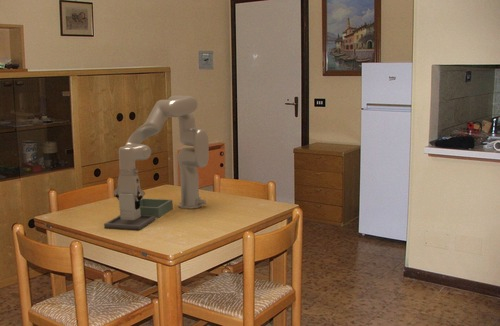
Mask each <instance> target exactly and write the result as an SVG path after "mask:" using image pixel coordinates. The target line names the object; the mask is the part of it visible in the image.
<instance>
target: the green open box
mask: <svg viewBox="0 0 500 326" xmlns="http://www.w3.org/2000/svg"><path fill="white" fill-rule="evenodd" d="M173 209H174V208H173V199H167V198H166V199H165V198H161V199H160V198H145V197H143V198H142V199H141V200H140V214H141V215H150V216H156V218H157V219H158V218H161V217H162V216H164V215H165V214H167V213H168V212H170V211H172V210H173Z"/></svg>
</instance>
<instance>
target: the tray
mask: <svg viewBox="0 0 500 326" xmlns="http://www.w3.org/2000/svg"><path fill="white" fill-rule="evenodd" d="M156 220H157V219H156V216H150V215H141V217H139V218H137V219H135V220H123V219H120V214H119V215H118V216H115V217H114V218H112V219H111V220H109V221H107V222H105V223H103V225H104V226H103V228H104V229H109V230H125V231H137V232H139V231H141V230H143V229H144V228H146V227H147V226H149V225H150V224H152V223H154V222H155V221H156Z"/></svg>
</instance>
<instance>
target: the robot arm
mask: <svg viewBox="0 0 500 326" xmlns="http://www.w3.org/2000/svg"><path fill="white" fill-rule="evenodd" d="M197 108H198V101H197V99H196V98H195V97H194V96H191V95H178V94H177V95H171V96H169V97H168V99H159V100H157V101H156V102H155V104H154V106H153V107H152V109H151V111H150V113H149V114H148V117H147V118H146V120H145V122H144V123H143V124H142V125H141V126H139V127H138V128H137V129H135V130H134V131H133V132H132V133H131V134H130V136H129V137H128V139H127V140H126V143H125V145H124V146H123V145H122V146H120V147H119V148H118V162H119V163H118V166H119V175H118V177H117V178H118V179H117V188H115V189H114V190H113V191H112V193H113V194H114V196H115V198H116V199H117V201H119V194H134V196H135V200H136V201H135V209H136V210H137V209H139V208H140V200H141V199H142V198H144V196H145V194H146V192H145V191H144V190H143V189H141V183H140V178H139V175H138V174H139V170H138V169H137V168H136V167H137V166H136V161H145V160H147V159H150V157H151V155H152V149H151V147H150V146H148V145H146V144H142V143H143V142H144V141H145V140H146V139H148V138H150V137H152V136H155V135H157V134H159V133H160V132H161V131H162V129H163V128H164V125H165V123H166V121H167V120H168V118H178V129H179V141H180V143H181V144H182V145H183V146H188V147H184V148H181V149H180V150H179V151H178V154H177V161H178V162H177V163H178V166H179V175H180V203H179V204H178V208H180V209H183V210H185V209H186V210H190V209H191V210H192V209H193V210H194V209H200V208H201V207H202V206H203V205H206V204H207V200H206V199H202V197H201V196H200V193H199V191H200V187H199V185H200V184H199V172H198V169H197V168H204V167H206V166H207V165H208V163H209V159H210V152H209V150H210V149H209V135H208V132H206V130H205V129H203V128H198V127H196V117H195V114H194V112H195V111H196V109H197ZM193 147H194V148H193ZM138 192H139V193H138ZM138 194H139V195H138Z"/></svg>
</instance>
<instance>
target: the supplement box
mask: <svg viewBox="0 0 500 326" xmlns="http://www.w3.org/2000/svg"><path fill="white" fill-rule="evenodd" d="M138 193H139V192H138ZM138 195H139V196H140V194H138ZM135 201H136V200H135V196H134V194H119V200H118V204H119V215H120V219H123V220H135V219H137V218H139V217H141V214H140V208H139V209H137V210H136V209H135Z"/></svg>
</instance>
